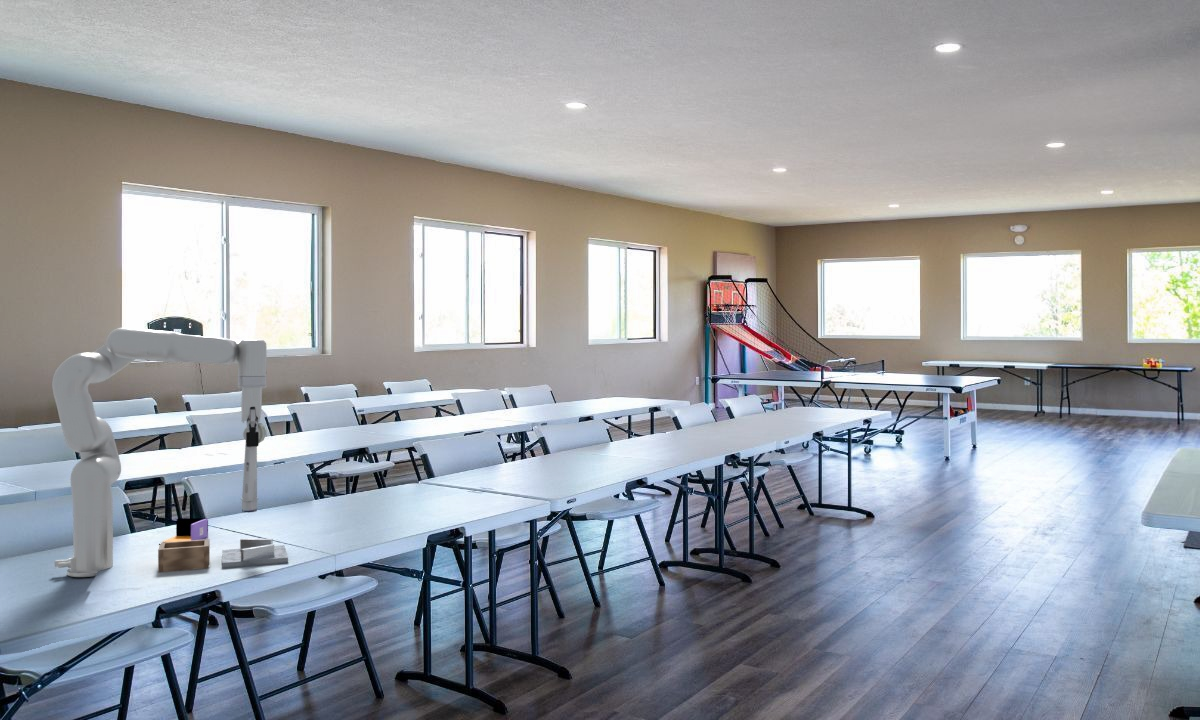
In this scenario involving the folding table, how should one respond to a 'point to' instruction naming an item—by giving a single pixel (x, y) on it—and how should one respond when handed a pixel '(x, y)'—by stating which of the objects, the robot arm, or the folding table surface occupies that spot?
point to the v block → (254, 554)
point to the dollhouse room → (190, 529)
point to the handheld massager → (251, 474)
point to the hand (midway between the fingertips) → (252, 444)
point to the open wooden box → (183, 555)
